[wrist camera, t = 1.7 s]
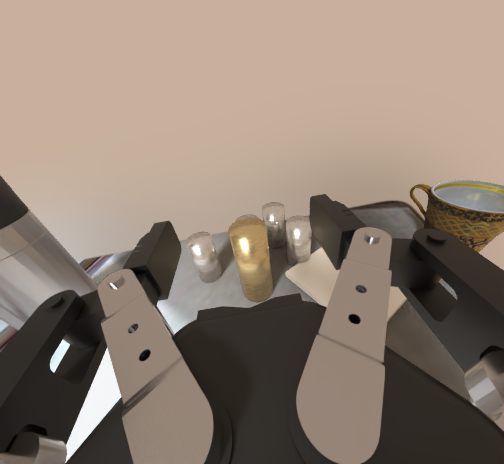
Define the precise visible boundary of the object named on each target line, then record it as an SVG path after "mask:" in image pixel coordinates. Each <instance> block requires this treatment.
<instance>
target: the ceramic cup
mask: <svg viewBox="0 0 504 464" xmlns="http://www.w3.org/2000/svg"><path fill="white" fill-rule="evenodd" d="M415 188H421V189H422V190H424V191H425V192H426V193H427V194H428V198H429V199H428V206H427V211H426V212H425V211H424V209H423V207H422V205H421V204H420V203H419V201H418V200H417V199H416V198H415V197H414V195H413V191H414V189H415ZM410 197H411V198H412V200H413V201H414V202H415V203H416V205H417V206H418V207H419V209H420V211H421V213H422V214H423V215H424V217H425V224H424V229H436V230H441V231H444V232H447V233H449V234H451V235H453V236H454V237H456V238H457V239H459V240H460V241H462V242H463V243H465V244H466V245H467V246H469V247H470V248H472V249H473V250H475V251H476V252H478V253H479V252H480V251H481V250H482V249H483V248H484V247H485V246H486V245H487V244H488V243H489V242H490V241H492V240H493V239H494V238H495V237H496V236H498V235H499V234H500V233H502V232H504V186H502V185H498V184H494V183H488V182H481V181H471V180H452V181H445V182H440V183H437V184H435V185H434V186H433V187H432V188H431V187H429V186H427V185H424V184H419V185H416V186H414V187H413V188H412V189H411V190H410Z"/></svg>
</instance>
